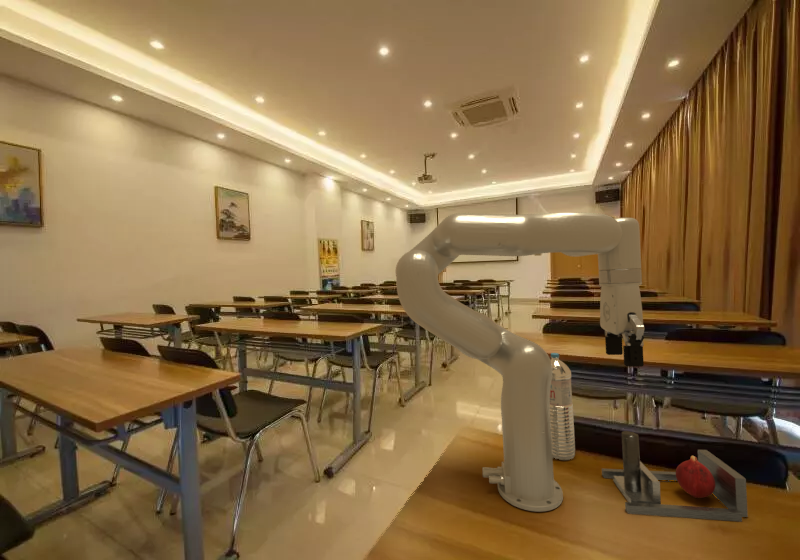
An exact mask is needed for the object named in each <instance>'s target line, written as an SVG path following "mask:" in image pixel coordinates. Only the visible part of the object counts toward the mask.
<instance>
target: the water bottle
mask: <svg viewBox="0 0 800 560" xmlns="http://www.w3.org/2000/svg"><path fill="white" fill-rule="evenodd" d="M559 358H560V353H559V352H551V353H550V360H551V364H552V380H551V387H550V419H551V437H552V457H553V459H554V458H555V459H554V460H557V459H559V461H571V460H572V459H574V457H576V441H575V439H576V437H575V425H574V423H575V419H574V404H573V395H572V394H573V392H572V390H573V389H572V371H571V369H570V368H569V366H568V365H567V364H566V363H565V362H563V361H562V360H560V359H559ZM570 459H571V460H570Z"/></svg>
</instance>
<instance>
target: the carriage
mask: <svg viewBox="0 0 800 560" xmlns="http://www.w3.org/2000/svg"><path fill="white" fill-rule="evenodd" d="M639 440H640V439H639V434H638V433H636V432H634V431H629V430H623V431H622V432H621V445H622V448H621V449H622V465H623V470H624V476H613V478H612V481H613V483H614V484H615V486H616V487H617V489H618V490H619V492H621V494H622V495H623V496H624V498H625V500H626V502H633V503H649V504H661V503H662V499H661V481H658V480H657V478H656V477H655V476H654V475H653V474H652V473H651V472H650V471H651V470H649V469H648V468H647V467H646V466H645V464H644V463H643V462H642V461H641V460H640V459H641V458H640V441H639Z"/></svg>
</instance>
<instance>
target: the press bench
mask: <svg viewBox="0 0 800 560" xmlns="http://www.w3.org/2000/svg"><path fill="white" fill-rule="evenodd" d="M697 460H698V462H700V463H701V464H703V465H704V466H705V467H706V468H707V469H708V470H709V471H710V472H711V474H712V475H713V477H714V480H715V489H714V492H713V494H714V495H715V496H716V497H717V499H719V500H720V501H721V502H722V503H723V504H724V505H725V506H726V507H727V508H728V509H727V508H726V507H725V506H724V505H723V504H722V503H721V502H720V501H719V502H720V503H721V504H722V505H723V506H724V507H725V508H721V507H707V506H705V507H704V506H695V505H694V506H692V505H677V504H676V505H675V504H649V503H633V502H628V501H625V502H624V505H625V506H624V507H625V508H624V509H625V512H626V513H627V514H629V515H643V516H645V515H646V516H657V517H668V518H669V517H670V518H671V517H672V518H673V517H674V518H685V519H686V518H687V519H699V520H700V519H701V520H715V521H728V522H743V518H742V517H748V516H749V515H748V496H747V479H746V478H745V477H744V476H743V475H741V474H740V472H737V471H736V470H735V469H733V468H732V467H731V466H729V465H728V464H727V463H725V462H724V461H723V460H721V459H720V458H718V457H716V456H715V455H714V454H713V453H711V452H710V451H708V449H697ZM649 471H650V472H651V473H652V474H653V475H654V476H655V477H656V478H657V480H668V481H667V482H670V481H669V480H674V481H675V480H676V481H677V478H676V471H662V470H660V471H659V470H649ZM601 476H602V477H603V479H613V476H624V469H621V468H620V469H619V468H618V469H617V468H601ZM717 499H716V500H717ZM748 518H749V517H748Z"/></svg>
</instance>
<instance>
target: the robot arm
mask: <svg viewBox="0 0 800 560" xmlns="http://www.w3.org/2000/svg"><path fill="white" fill-rule="evenodd" d="M640 233H641V232H640V222H639V221H638V220H637V219H636V218H634V217H618V218H617V217H616V218H614V217H613V216H610V215H608V214H604V213H595V212H549V213H526V214H504V213H503V214H499V213H498V214H497V213H469V212H468V213H466V212H461V213H460V212H458V213H452V214H449V215H448V216H446V217H445V218H444V219H442V221H440V223H439V224H438V225H437V226H436V227H435V228H434V229H433V230H432V231H431V232H429V234H427V236H425V237H424V238H423V239H422V240H421V241H419V243H417V245H415V246H414V247H413V248H412V249H410V250H408V251H407V252H405V253H404V254H403V255H402V256H400V258H399V259H398V262H397V264H396V266H395V277H396V281H395V282H396V292H397V296H398V301H399V303H400V305H401V306H402V308H403V310H404V312H405V313H406V315H407V316H408V317H409V319H411V320H412V322H414V323H415V324H417V325H418V326H419V327H421V328H423V329H424V330H426V331H427V332H429V333H431V334H433V336H435V337H437V338H438V339H440V340H441V341H444V342H446V344H449V345H451V346H452V347H454V348H456V350H458V351H459V352H460V353H461V354H464V356H467V357H468V358H471V359H476V360H478V361H479V362H481V363H483V364H485V365H487V366H489V367H490V368H492V369H493V370H494V371H496V372H498V373H499V374H500V375H501V377H502V388H501V396H500V411H501V412H500V414H501V415H500V416H501V425H502V427H501V428H502V445H503V448H502V449H503V461H501V466H497V467H486V466H484V467H482V478H486V479H487V478H488V482H489V484H493V485H494V484H497V491H498V492H499V495H500V496H501V497H502V499H503V500H505V501H506V502H508V503H509V504H510V505H512V506H513V507H515V508H516V507H517V508H518V509H521V510H524V511H529V512H535V513H536V512H538V513H542V512H549V511H552V510H555V509H556V508H558V507H559V506H560V505H561V504H562V502H563V500H564V492H563V489H562V487H561V485H560V484H559V483H558V482H557V481H556V480H555V479H554V478H555V477H554V460H553V459H554V458H553V457H552V437H551V419H550V387H551V380H552V364H551V357H550V356H549V354H548V352H547V351H546V350H545V349H544V348H543V347H542V346H540V345H539V344H538V343H536V342H534V341H532V340H529V339H527V338H525V337H522V336H520V335H517V334H515V333H514V332H512V331H511V330H508V329H506V328H504V327H503V326H501V325H499V324H498V323H496V322H495V321H494V320H493V319H492V318H490V317H489V316H488V315H486V314H484V313H482V312H479V311H477V310H474V309H472V308H470V307H469V306H468V305H465V304H464V303H462V302H460V301H459V300H457V299H456V298H454V297H452V296H451V295H449V294H448V293H446V292H445V290H444V289H443V288H442V287H441V285H440V283H439V282H440V281H439V274H441V273H442V272H443V271H444V270H445V269H446V268H447V267H448V266H450V264H452V263H453V262H454V261H455V260H456V259H457V258H458V257H460V256H491V257H493V256H498V257H524V256H534V255H541V254H549V253H551V254H553V253H561V254H563V255H565V256H568V257H584V256H585V257H586V256H592V255H593V256H594V255H597V262H598V283H599V285H598V286H600V297H599V298H600V301H599V302H600V303H599V304H600V305H599V306H600V307H599V313H600V314H599V325H600V327H601V329H603V330H604V336H605V337H604V338H605V341H604V343H605V354H606V355H609V356H613V355H614V356H622V355H623V364H624V366H626V367H633V368H634V367H638V368H639V367H644V345H645V343H644V339H645V335H644V334H645V330H646V329H645V325H644V317H643V316H644V315H643V304H642V297H641V292H640V291H641V290H640V286H641V285H643V279H642V258H641V255H642V254H641V251H642V250H641V234H640ZM621 335H622V336H621ZM629 336H630V337H629ZM623 341H624V344H625V345H623Z"/></svg>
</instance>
